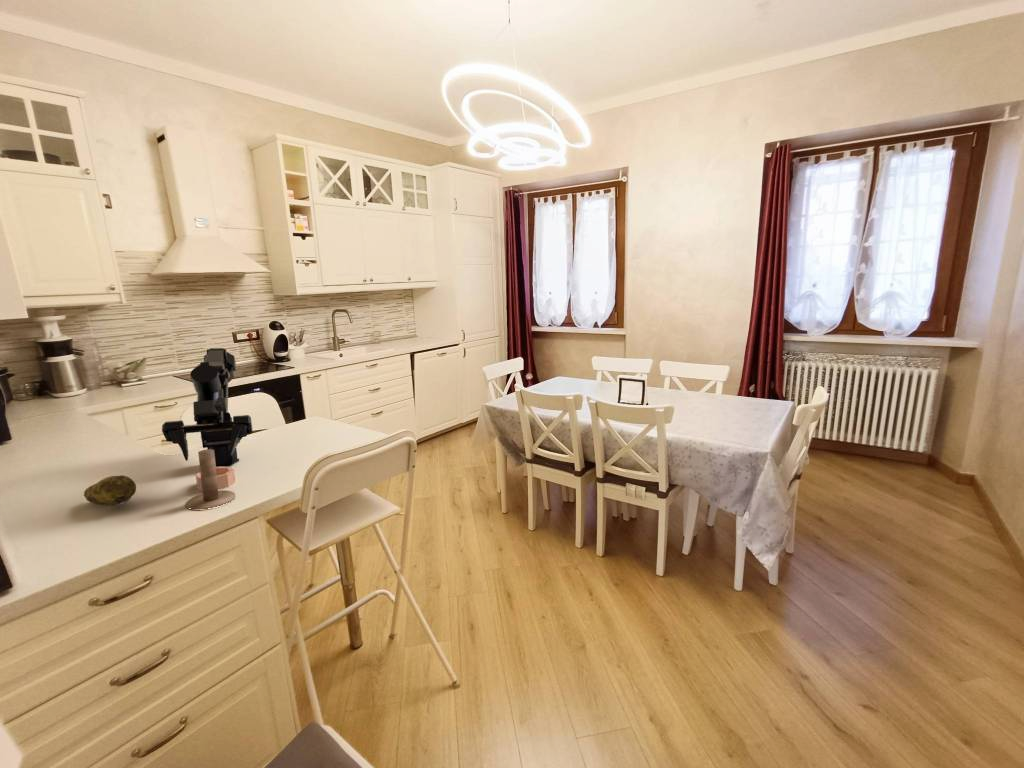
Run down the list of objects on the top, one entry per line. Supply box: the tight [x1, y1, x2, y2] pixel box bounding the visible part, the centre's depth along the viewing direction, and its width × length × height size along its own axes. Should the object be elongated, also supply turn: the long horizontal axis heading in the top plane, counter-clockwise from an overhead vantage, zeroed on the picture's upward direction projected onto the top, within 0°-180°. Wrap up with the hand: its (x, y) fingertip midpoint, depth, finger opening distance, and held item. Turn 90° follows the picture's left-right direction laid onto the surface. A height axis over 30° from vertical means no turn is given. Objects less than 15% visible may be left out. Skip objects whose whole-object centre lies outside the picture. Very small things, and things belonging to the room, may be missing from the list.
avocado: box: [83, 474, 137, 506], centre depth 105 cm, size 8×13×8 cm, turn 51°
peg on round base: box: [185, 448, 236, 510], centre depth 109 cm, size 10×10×13 cm
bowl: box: [195, 466, 236, 491], centre depth 119 cm, size 8×8×4 cm
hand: (208, 457), depth 111 cm, fingers open, 9 cm apart
